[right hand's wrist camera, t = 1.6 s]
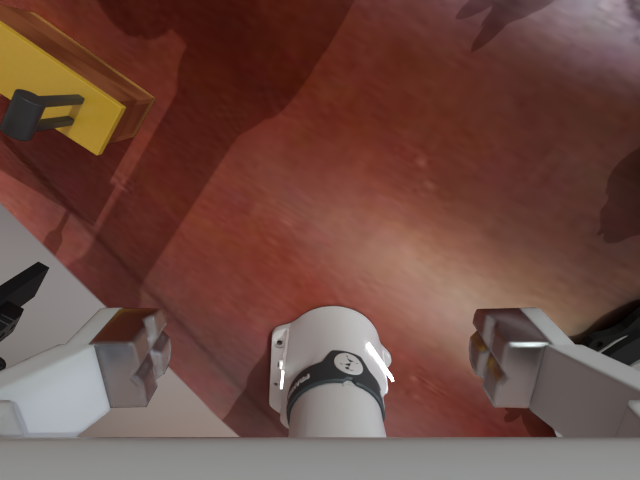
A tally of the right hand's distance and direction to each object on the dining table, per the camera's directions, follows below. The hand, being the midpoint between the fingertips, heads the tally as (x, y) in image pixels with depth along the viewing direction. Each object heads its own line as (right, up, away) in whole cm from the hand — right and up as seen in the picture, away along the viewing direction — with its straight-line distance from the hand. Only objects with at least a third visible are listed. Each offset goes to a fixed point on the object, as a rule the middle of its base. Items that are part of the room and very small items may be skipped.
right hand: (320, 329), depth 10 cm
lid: (-27, +18, +27) cm, 42 cm away
